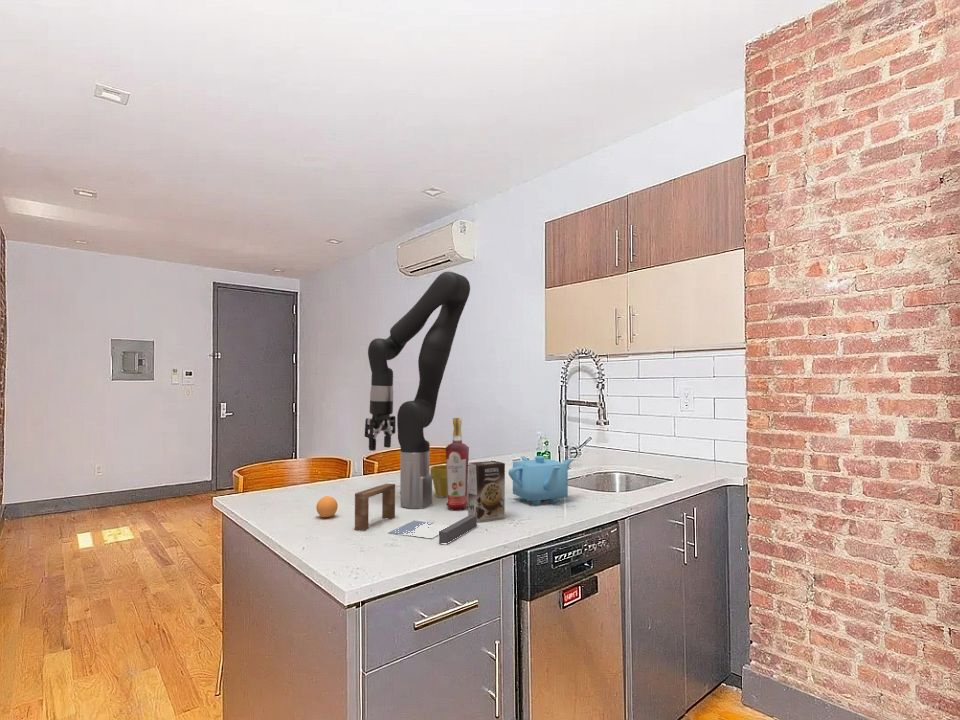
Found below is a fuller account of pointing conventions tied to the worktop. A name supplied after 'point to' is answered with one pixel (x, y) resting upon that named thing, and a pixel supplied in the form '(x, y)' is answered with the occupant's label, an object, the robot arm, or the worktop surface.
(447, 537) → the wall
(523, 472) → the teakettle
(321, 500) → the ball
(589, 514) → the worktop surface
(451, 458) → the liquor
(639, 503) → the worktop surface
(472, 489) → the coffee box
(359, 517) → the bridge
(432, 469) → the plant pot
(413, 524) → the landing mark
